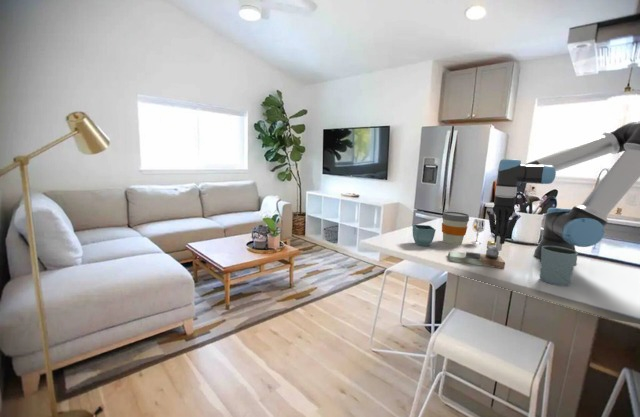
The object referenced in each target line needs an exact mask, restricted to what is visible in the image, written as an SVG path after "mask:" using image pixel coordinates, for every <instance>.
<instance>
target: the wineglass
mask: <svg viewBox="0 0 640 417" xmlns="http://www.w3.org/2000/svg"><path fill="white" fill-rule="evenodd" d="M485 228H486V222H485V220H483V219H474V220H473V222H472V226H471V229H472V230H473V231H474V232H475V233H476V239H475V241H471V244H475V245H481V244H482V243H481V242H479V240H478V238H479V237H478V236H479V234H480V233H483V232H484V231H485Z"/></svg>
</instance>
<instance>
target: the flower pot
mask: <svg viewBox="0 0 640 417" xmlns="http://www.w3.org/2000/svg"><path fill="white" fill-rule="evenodd" d="M436 230H437V229H435V227H432V226H431V225H428V224H427V225H423V224H412V238H413V241H414V243H415V244H416V245H417V246H421V247H422V246H424V247H429V246H430V245H431V243H432V242H433V241H434V238H435V234H436Z"/></svg>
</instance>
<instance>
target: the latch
mask: <svg viewBox="0 0 640 417" xmlns="http://www.w3.org/2000/svg"><path fill="white" fill-rule="evenodd" d="M495 247H496V243H495V242H494V240H488V241H487V244H486V251H485V252H486V253H485V254H486V256H487V257H489V258H498V256H499V252H500V251H496V248H495Z"/></svg>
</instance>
